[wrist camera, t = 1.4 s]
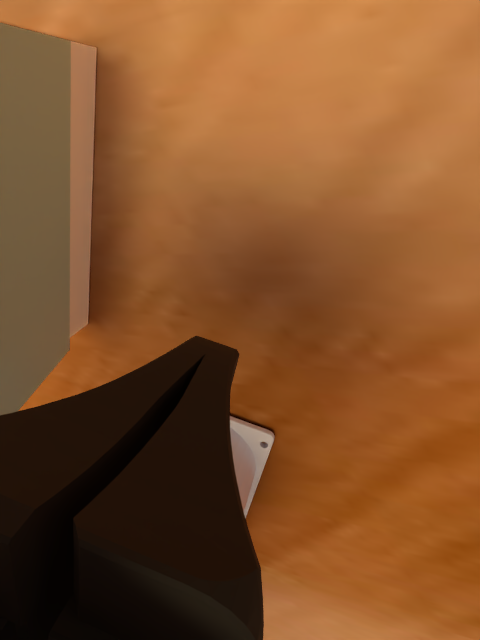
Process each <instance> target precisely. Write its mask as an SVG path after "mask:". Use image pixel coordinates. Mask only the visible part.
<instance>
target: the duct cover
mask: <svg viewBox="0 0 480 640" xmlns="http://www.w3.org/2000/svg"><path fill="white" fill-rule="evenodd" d="M70 104H71V41H69V40H65V39H61V38H58V37H54V36H50V35H46V34H42V33H38V32H34V31H30V30H26V29H23V28H19V27H15V26H11V25H7V24H3V23H0V415H4V414H9V413H13V412H18V410H19V409H20V408H21V407H22V406H23V404H24V403H25V402H26V401H27V400H28V399H29V397H30V396H31V395H32V394H33V393H34V391H35V390H36V389H37V388H38V387H39V385H40V384H41V383H42V382H43V381H44V380H45V378H46V377H47V376H48V375H49V374H50V372H51V371H52V370H53V369H54V368H55V366H56V365H57V364H58V363H59V362H60V361H61V359H62V358H63V357H64V356H65V355H66V353H67V352H68V351H69V350H70Z"/></svg>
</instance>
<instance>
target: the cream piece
mask: <svg viewBox="0 0 480 640" xmlns="http://www.w3.org/2000/svg"><path fill="white" fill-rule="evenodd" d="M96 56H97V48H96V47H92V46H88V45H85V44H81V43H77V42H73V41H71V104H70V337H71V336H73V335H74V334H75V333H77V332H78V331H79V330H81V329H82V328H83V327H85V326H86V325H87V324H88V314H89V281H90V249H91V217H92V185H93V153H94V121H95V88H96Z"/></svg>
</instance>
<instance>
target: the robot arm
mask: <svg viewBox="0 0 480 640" xmlns="http://www.w3.org/2000/svg"><path fill="white" fill-rule="evenodd" d="M238 358H239V353H238V351H237V349H234V348H231V347H228V346H225V345H222V344H219V343H216V342H213V341H210V340H207V339H205V338H202V337H199V336H195V337H193V338H191V339H189V340H187V341H186V342H184V343H183V344H181V345H179V346H178V347H176V348H174V349H173V350H171V351H169V352H168V353H166V354H164V355H162V356H161V357H159V358H157V359H155V360H153V361H152V362H150V363H148V364H146V365H144V366H142V367H140V368H138V369H136V370H134V371H132V372H130V373H128V374H126V375H124V376H122V377H120V378H118V379H116V380H113V381H111V382H109V383H106V384H104V385H102V386H99V387H97V388H94V389H91V390H89V391H86V392H83V393H81V394H78V395H75V396H71V397H68V398H65V399H61V400H58V401H55V402H51V403H48V404H45V405H41V406H38V407H34V408H30V409H26V410H22V411H18V412H13V413H9V414H4V415H0V640H263V627H264V622H263V595H262V582H261V568H260V565H259V562H258V559H257V556H256V553H255V550H254V546H253V543H252V540H251V537H250V533H249V530H248V526H247V522H246V519H245V518H246V515H247V513H248V510H249V507H250V504H251V502H252V499H253V496H254V494H255V491H256V488H257V485H258V483H259V480H260V477H261V474H262V472H263V469H264V466H265V464H266V461H267V458H268V455H269V453H270V450H271V447H272V444H273V442H274V437H275V436H274V434H273V433H272V432H271V431H270V430H267V429H264V428H262V427H259V426H256V425H253V424H251V423H248V422H245V421H243V420H240V419H237V418H234V417H232V416H230V390H231V384H232V381H233V377H234V373H235V369H236V365H237V362H238ZM262 442H266V443H267V444H264V443H262Z"/></svg>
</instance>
